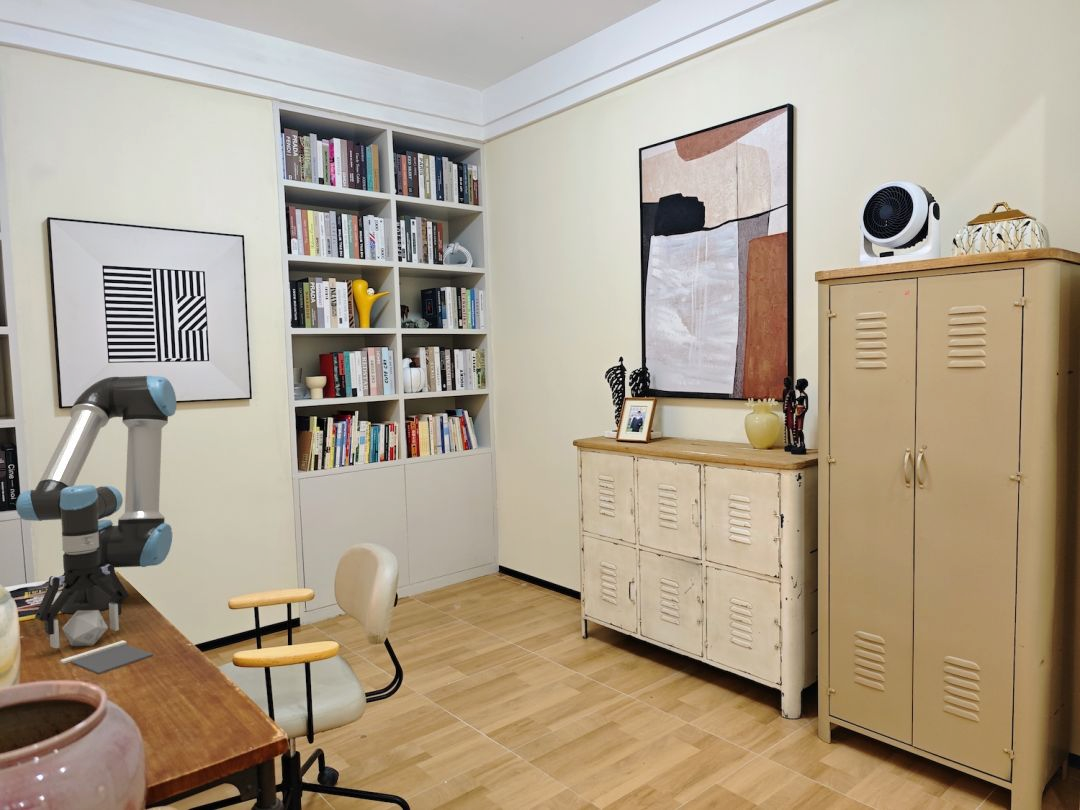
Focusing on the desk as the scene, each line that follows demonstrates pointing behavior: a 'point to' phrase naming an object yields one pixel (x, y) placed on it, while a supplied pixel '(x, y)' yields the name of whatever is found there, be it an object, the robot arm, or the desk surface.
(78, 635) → the die
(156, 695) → the desk surface
